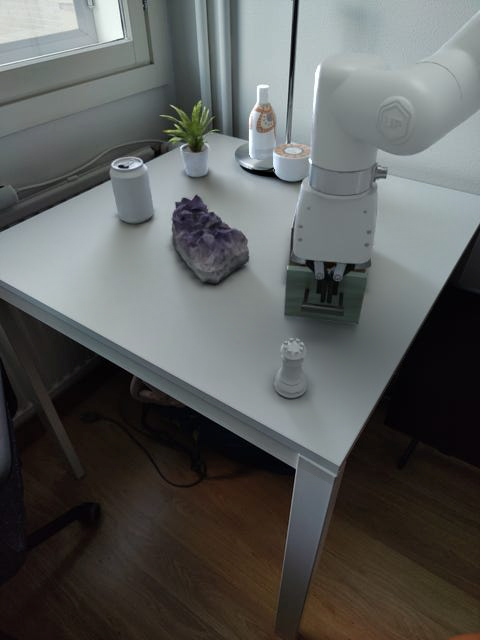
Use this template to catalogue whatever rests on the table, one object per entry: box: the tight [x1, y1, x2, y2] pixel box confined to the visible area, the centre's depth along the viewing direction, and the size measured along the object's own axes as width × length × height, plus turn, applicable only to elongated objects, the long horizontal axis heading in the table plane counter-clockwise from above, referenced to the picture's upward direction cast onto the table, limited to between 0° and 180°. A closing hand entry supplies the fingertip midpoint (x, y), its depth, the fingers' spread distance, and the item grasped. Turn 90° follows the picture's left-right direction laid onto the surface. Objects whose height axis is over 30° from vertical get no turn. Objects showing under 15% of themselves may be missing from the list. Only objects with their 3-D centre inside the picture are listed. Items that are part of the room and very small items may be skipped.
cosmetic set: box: [248, 84, 310, 182], centre depth 106 cm, size 25×9×19 cm, turn 46°
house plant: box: [160, 100, 220, 178], centre depth 111 cm, size 14×14×16 cm
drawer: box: [283, 261, 368, 325], centre depth 72 cm, size 18×11×9 cm, turn 168°
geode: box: [171, 194, 250, 285], centre depth 84 cm, size 20×12×10 cm, turn 33°
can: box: [108, 156, 155, 224], centre depth 95 cm, size 8×8×12 cm
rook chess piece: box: [273, 337, 308, 399], centre depth 60 cm, size 4×4×8 cm
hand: (326, 297), depth 66 cm, fingers closed
